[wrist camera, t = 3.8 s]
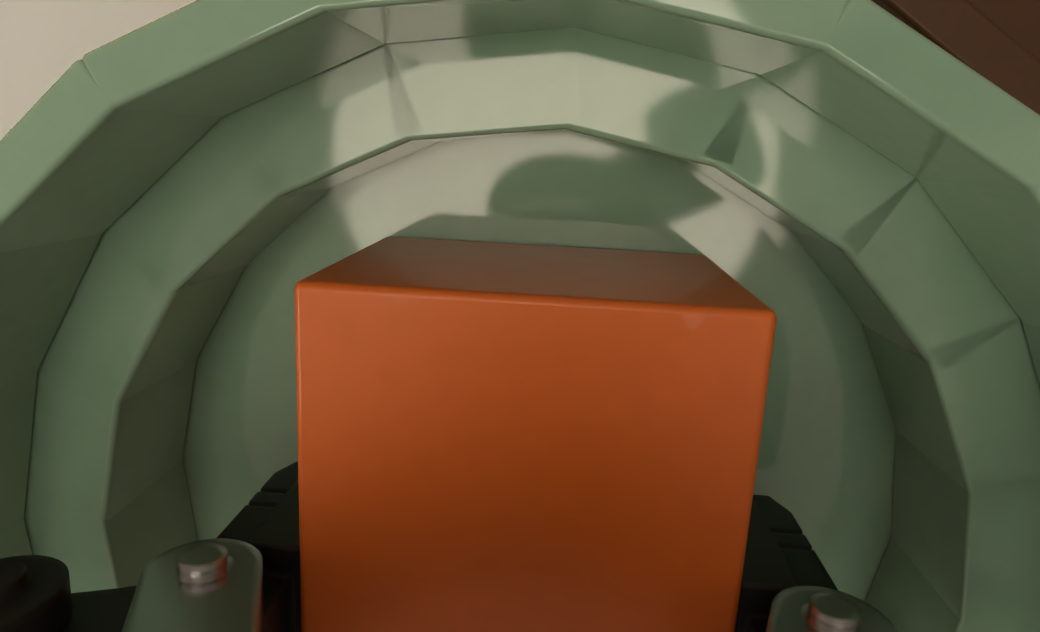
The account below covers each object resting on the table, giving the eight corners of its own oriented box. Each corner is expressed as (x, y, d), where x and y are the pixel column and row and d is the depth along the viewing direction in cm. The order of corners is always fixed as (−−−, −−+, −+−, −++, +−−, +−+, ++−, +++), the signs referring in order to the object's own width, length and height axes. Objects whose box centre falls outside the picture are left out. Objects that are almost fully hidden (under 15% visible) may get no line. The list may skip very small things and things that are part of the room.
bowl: (827, -154, 10) (1056, -417, 6) (1079, 713, 13) (1379, 1046, 8) (-46, 241, 13) (-434, 301, 8) (330, 914, 15) (219, 1269, 10)
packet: (383, 234, 12) (289, 280, 8) (709, 254, 11) (782, 312, 7) (379, 699, 13) (302, 924, 10) (657, 724, 13) (694, 966, 9)
